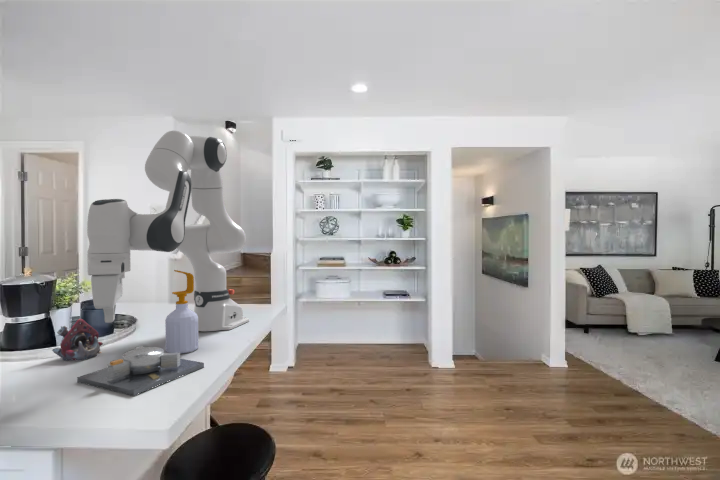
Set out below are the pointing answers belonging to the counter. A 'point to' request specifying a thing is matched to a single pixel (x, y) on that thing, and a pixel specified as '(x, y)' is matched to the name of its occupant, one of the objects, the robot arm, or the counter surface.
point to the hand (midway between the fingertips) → (109, 321)
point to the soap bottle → (182, 323)
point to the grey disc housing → (142, 362)
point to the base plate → (138, 378)
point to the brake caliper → (78, 342)
